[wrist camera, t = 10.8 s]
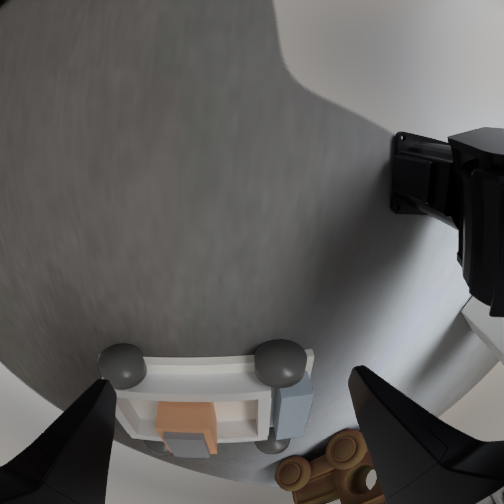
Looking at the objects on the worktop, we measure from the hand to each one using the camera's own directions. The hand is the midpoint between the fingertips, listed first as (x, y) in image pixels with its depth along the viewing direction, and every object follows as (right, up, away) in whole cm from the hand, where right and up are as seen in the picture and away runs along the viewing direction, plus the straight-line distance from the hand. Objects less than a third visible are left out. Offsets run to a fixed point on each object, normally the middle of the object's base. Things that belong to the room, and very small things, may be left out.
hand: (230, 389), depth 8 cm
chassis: (-4, -11, +17) cm, 21 cm away
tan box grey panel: (-6, -11, +16) cm, 21 cm away
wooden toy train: (+14, -29, +28) cm, 43 cm away
